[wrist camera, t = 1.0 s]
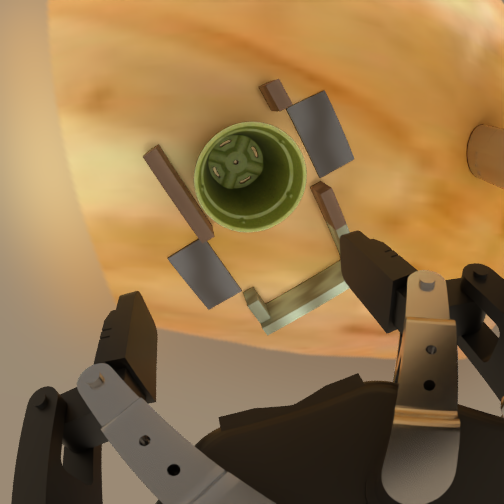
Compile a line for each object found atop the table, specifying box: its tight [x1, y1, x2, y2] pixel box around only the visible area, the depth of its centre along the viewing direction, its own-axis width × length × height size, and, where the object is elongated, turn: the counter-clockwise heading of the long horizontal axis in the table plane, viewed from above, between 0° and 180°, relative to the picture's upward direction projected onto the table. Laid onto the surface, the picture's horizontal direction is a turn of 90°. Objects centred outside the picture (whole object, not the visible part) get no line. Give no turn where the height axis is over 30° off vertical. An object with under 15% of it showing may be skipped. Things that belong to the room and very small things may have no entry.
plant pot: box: [194, 122, 307, 232], centre depth 28 cm, size 9×9×9 cm
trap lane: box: [143, 79, 354, 335], centre depth 34 cm, size 25×26×4 cm
